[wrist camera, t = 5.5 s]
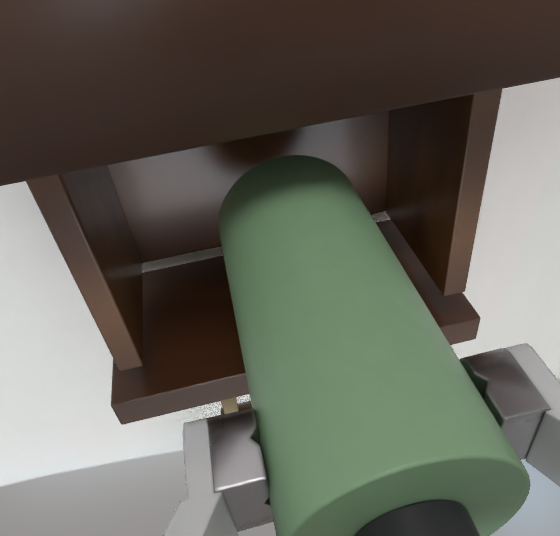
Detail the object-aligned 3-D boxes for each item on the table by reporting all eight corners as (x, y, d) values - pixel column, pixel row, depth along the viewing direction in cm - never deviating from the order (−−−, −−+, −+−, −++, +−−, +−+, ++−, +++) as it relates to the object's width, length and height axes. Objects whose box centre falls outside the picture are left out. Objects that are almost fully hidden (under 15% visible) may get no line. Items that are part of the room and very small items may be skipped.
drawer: (399, 305, 27) (460, 411, 22) (152, 363, 26) (156, 489, 21) (430, -114, 16) (573, -96, 10) (-20, -47, 14) (-108, 12, 9)
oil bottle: (378, 224, 17) (589, 566, 9) (269, 293, 18) (370, 657, 10) (312, 124, 15) (530, 487, 6) (187, 212, 16) (235, 624, 7)
